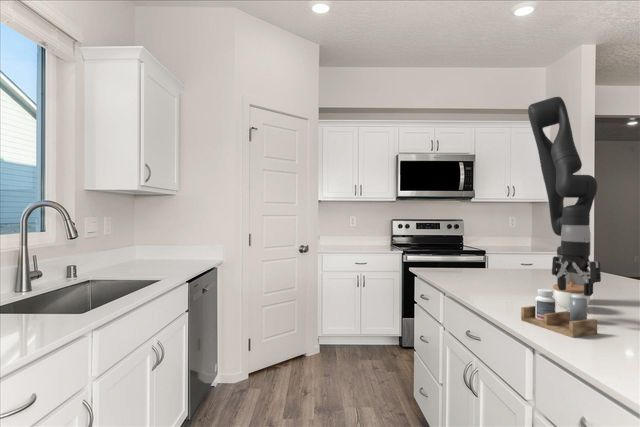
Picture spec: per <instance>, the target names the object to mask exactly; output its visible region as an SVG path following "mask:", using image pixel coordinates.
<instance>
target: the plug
mask: <svg viewBox="0 0 640 427" xmlns="http://www.w3.org/2000/svg"><path fill="white" fill-rule="evenodd" d="M569 312H570V321H578V320H586V319H588V305H587V299H586V296H585V295H581V294H571V297H570V311H569Z"/></svg>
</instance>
